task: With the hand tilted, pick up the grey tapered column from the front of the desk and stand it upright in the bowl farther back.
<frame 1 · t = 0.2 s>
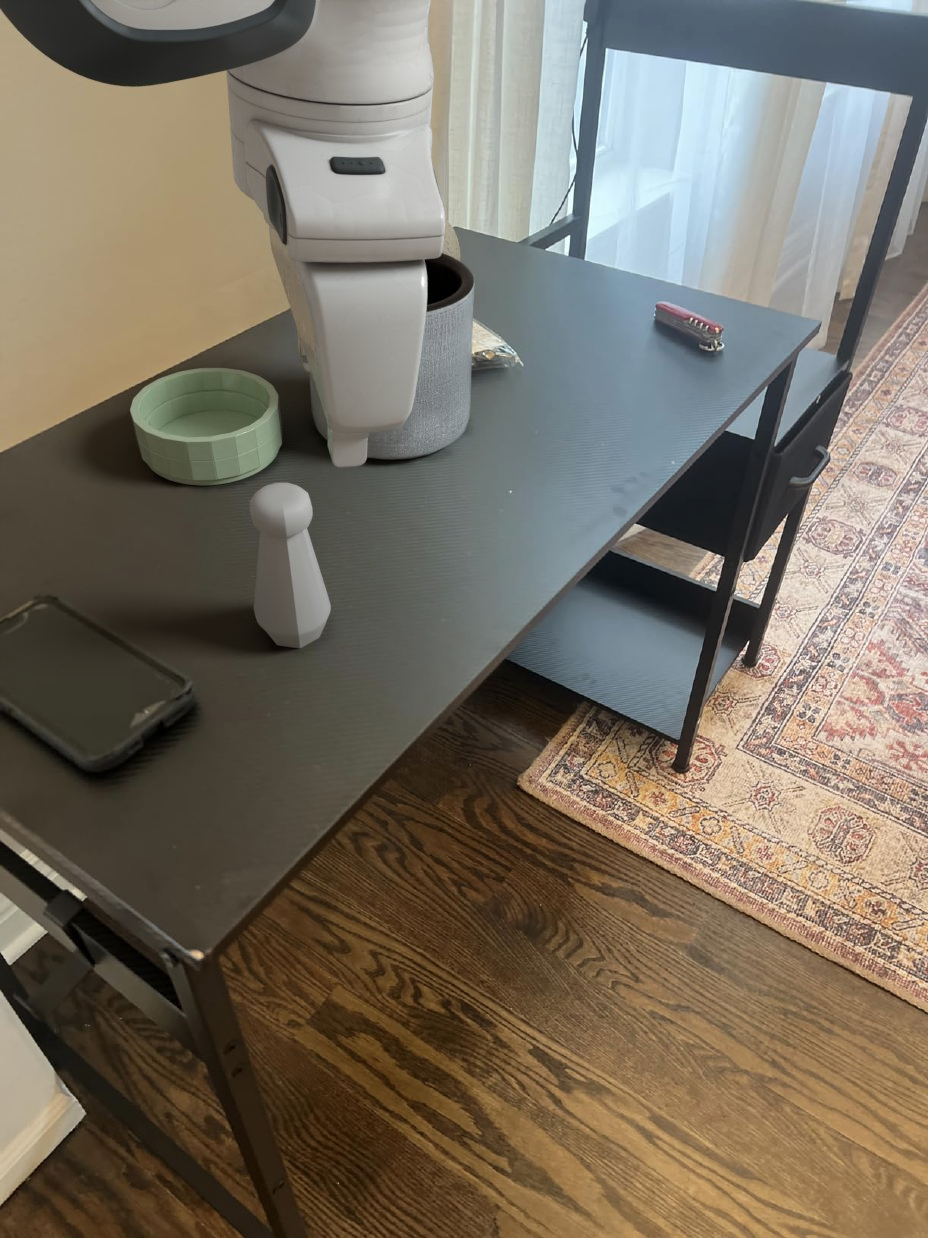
hand: (330, 409, 52), 24 cm above the table, tool pointing down, fingers open, 8 cm apart
grey tapered column: (295, 632, 73), on the table
planter: (391, 425, 96), on the table
bowl: (213, 447, 91), on the table
fruit: (414, 303, 117), on the table
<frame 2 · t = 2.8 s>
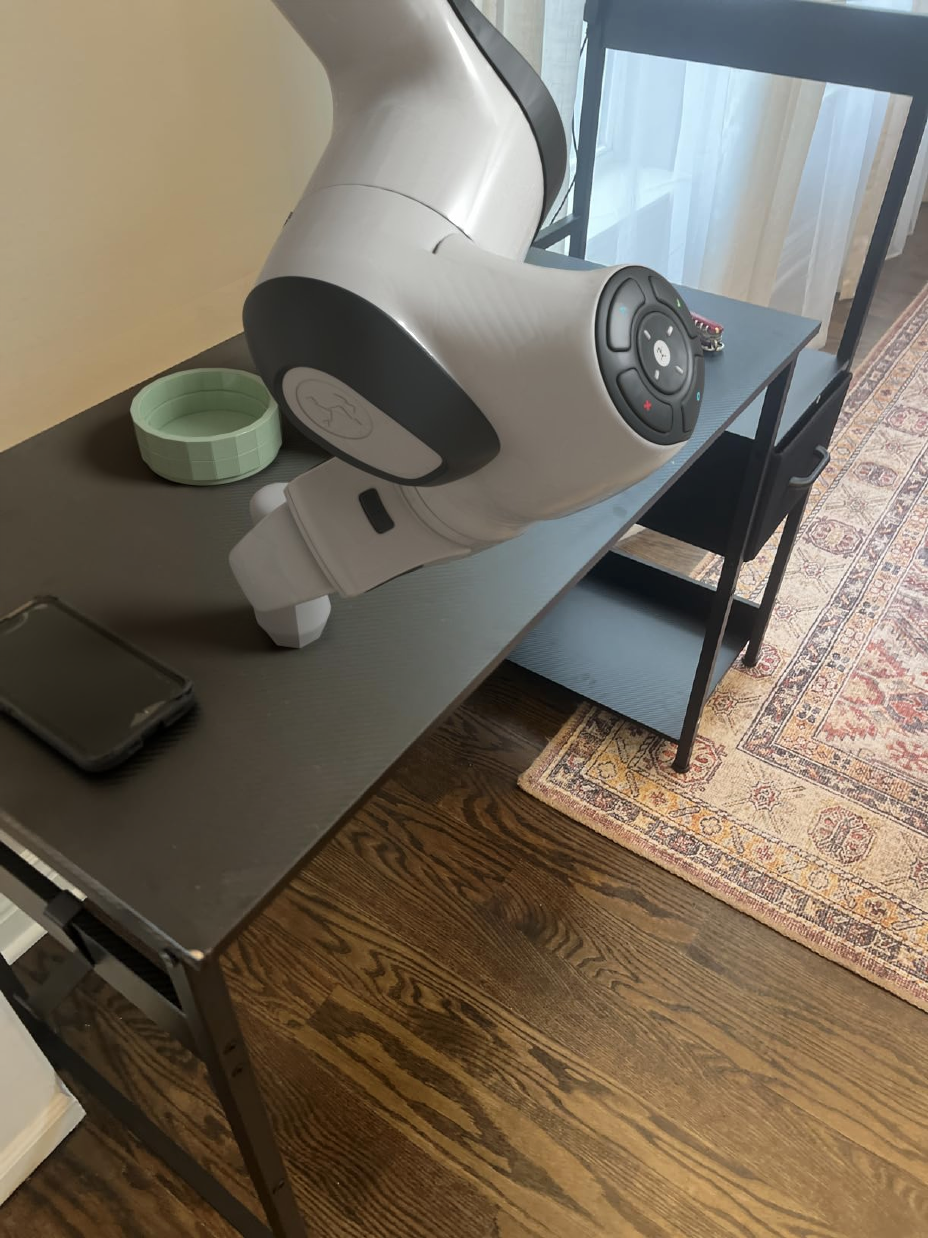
hand: (344, 534, 60), 13 cm above the table, tool tilted 45°, fingers open, 8 cm apart
nothing on the table moved.
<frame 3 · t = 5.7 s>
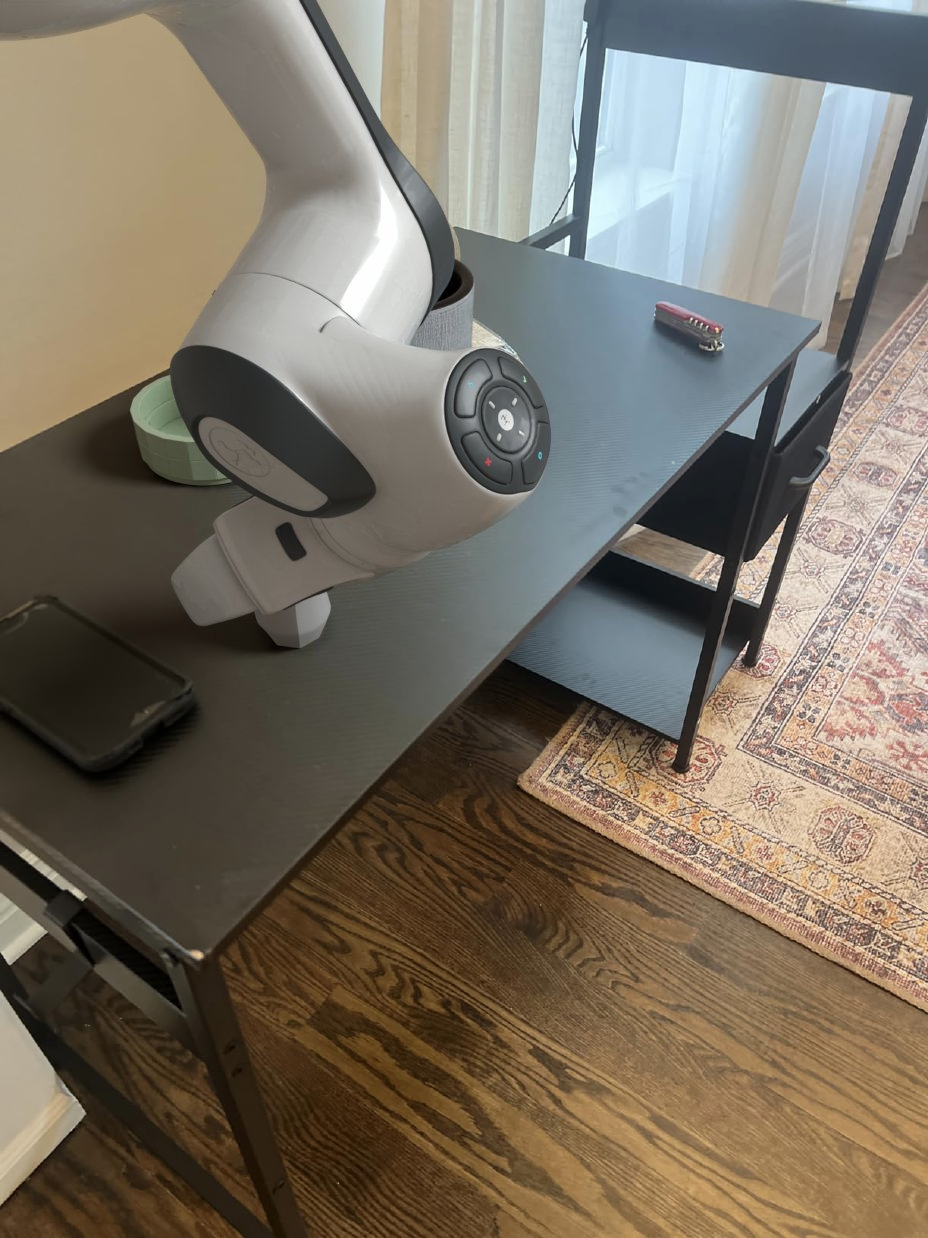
hand: (281, 555, 68), 7 cm above the table, tool tilted 45°, fingers closed on grey tapered column, 3 cm apart
grey tapered column: (295, 631, 73), on the table, touching gripper
everything else where it was.
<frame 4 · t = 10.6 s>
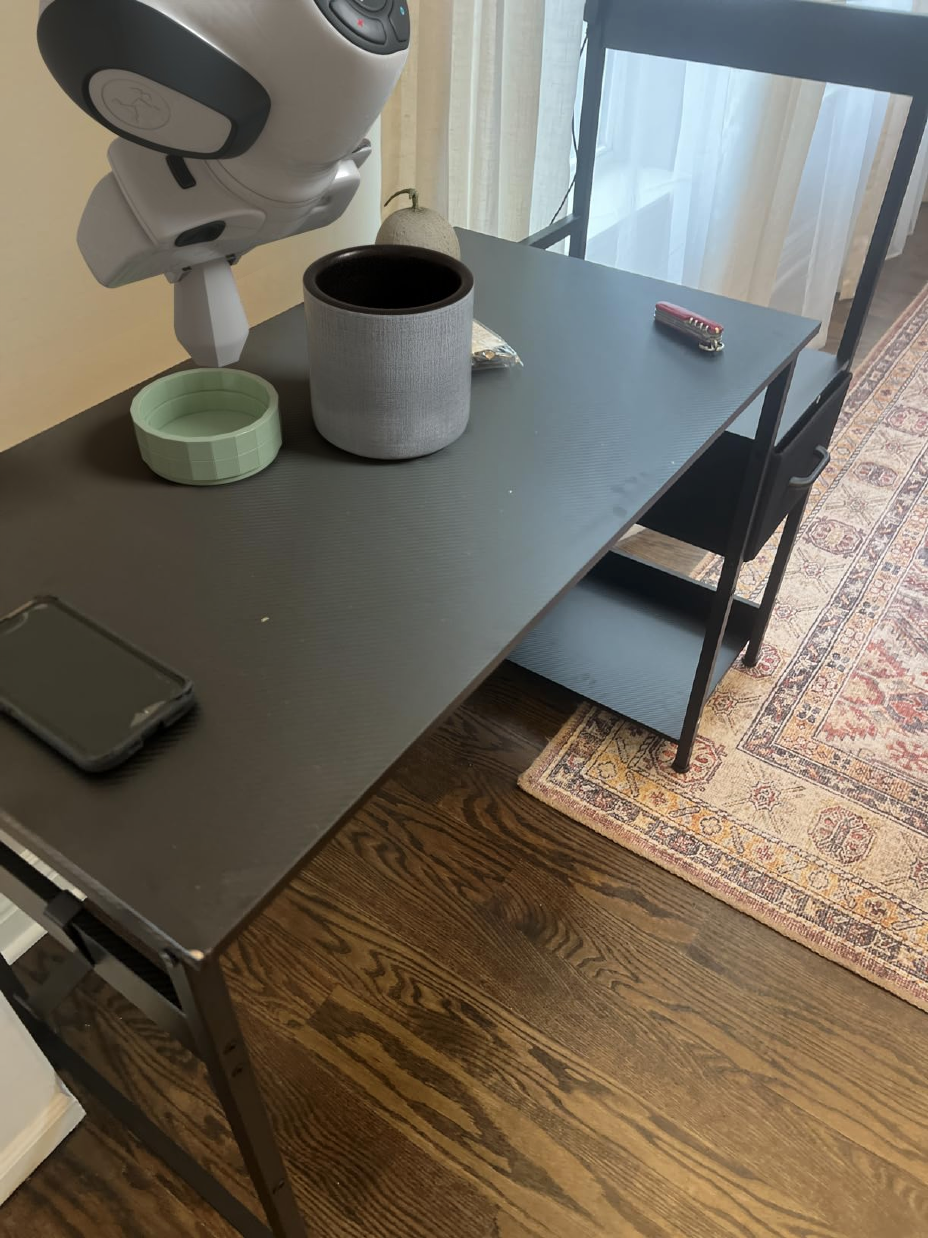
hand: (197, 265, 71), 21 cm above the table, tool tilted 45°, fingers closed on grey tapered column, 3 cm apart
grey tapered column: (216, 357, 76), point 14 cm above the table, touching gripper
everything else where it was.
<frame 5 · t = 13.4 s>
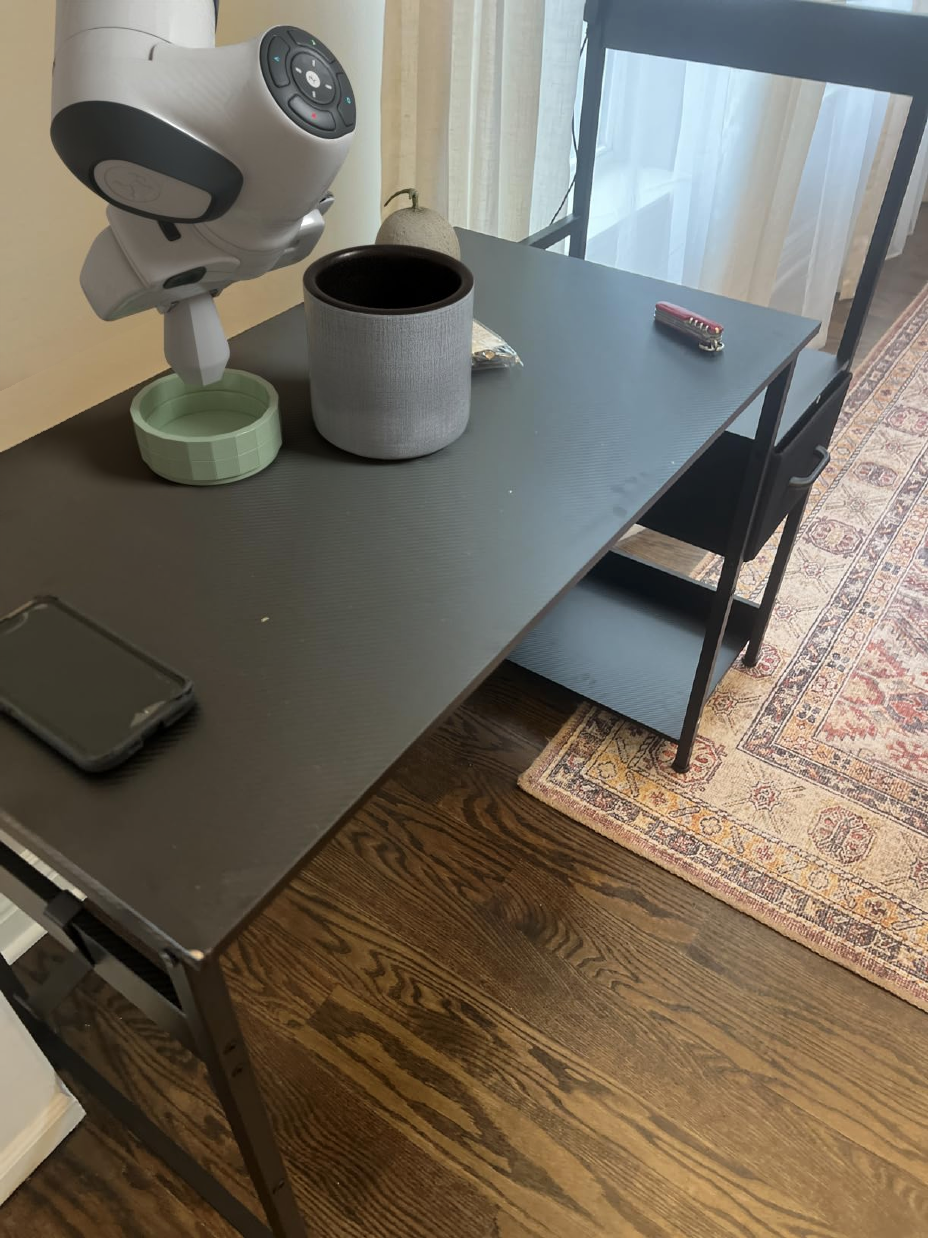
hand: (184, 297, 81), 15 cm above the table, tool tilted 45°, fingers closed on grey tapered column, 3 cm apart
grey tapered column: (201, 376, 86), point 8 cm above the table, touching gripper
everything else where it was.
when the fingers open (8 cm above the table, at t = 15.6 s): grey tapered column stays where it is, resting on bowl.
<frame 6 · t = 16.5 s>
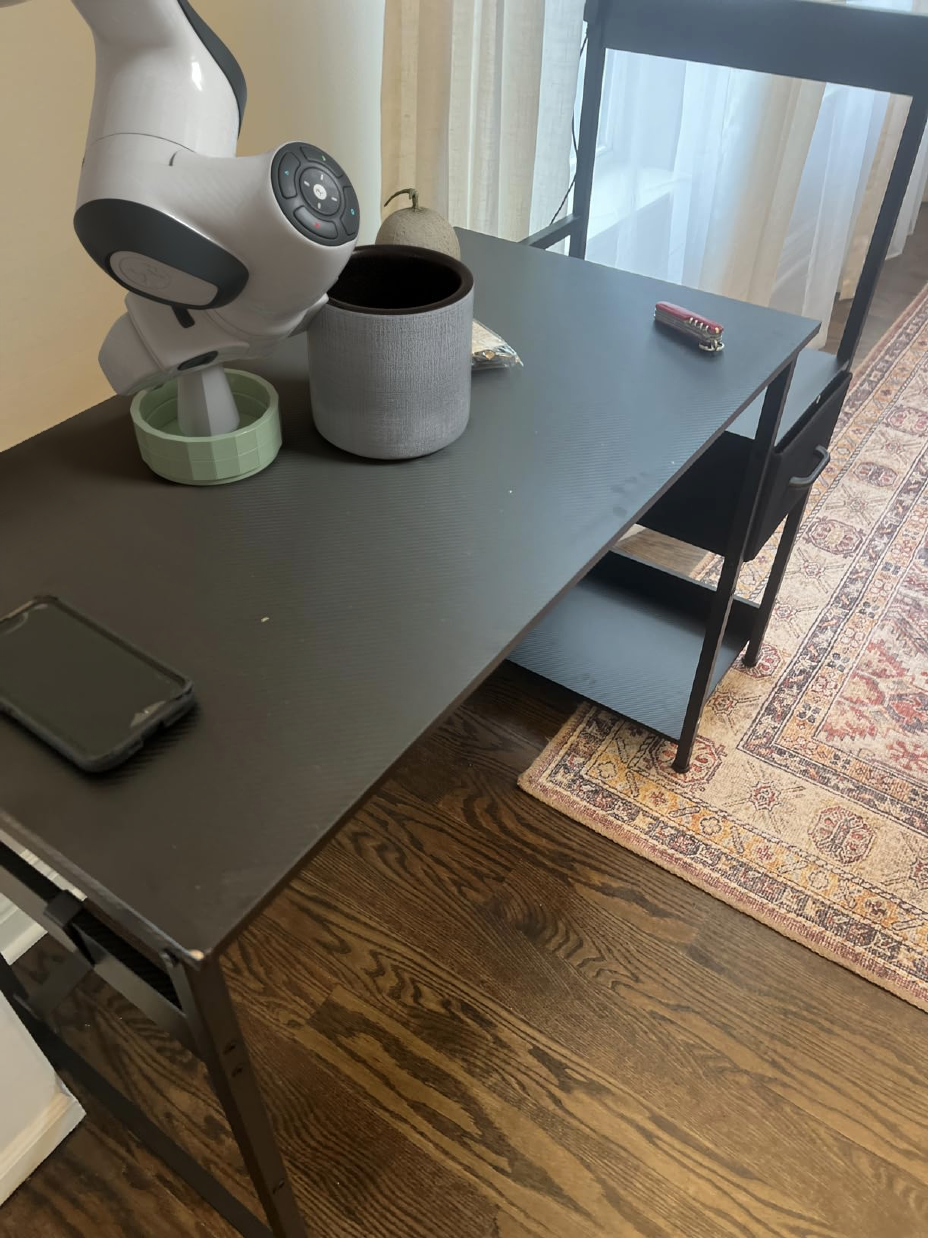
hand: (195, 365, 86), 9 cm above the table, tool tilted 45°, fingers open, 8 cm apart
grey tapered column: (212, 442, 91), point 1 cm above the table, touching bowl
everything else where it was.
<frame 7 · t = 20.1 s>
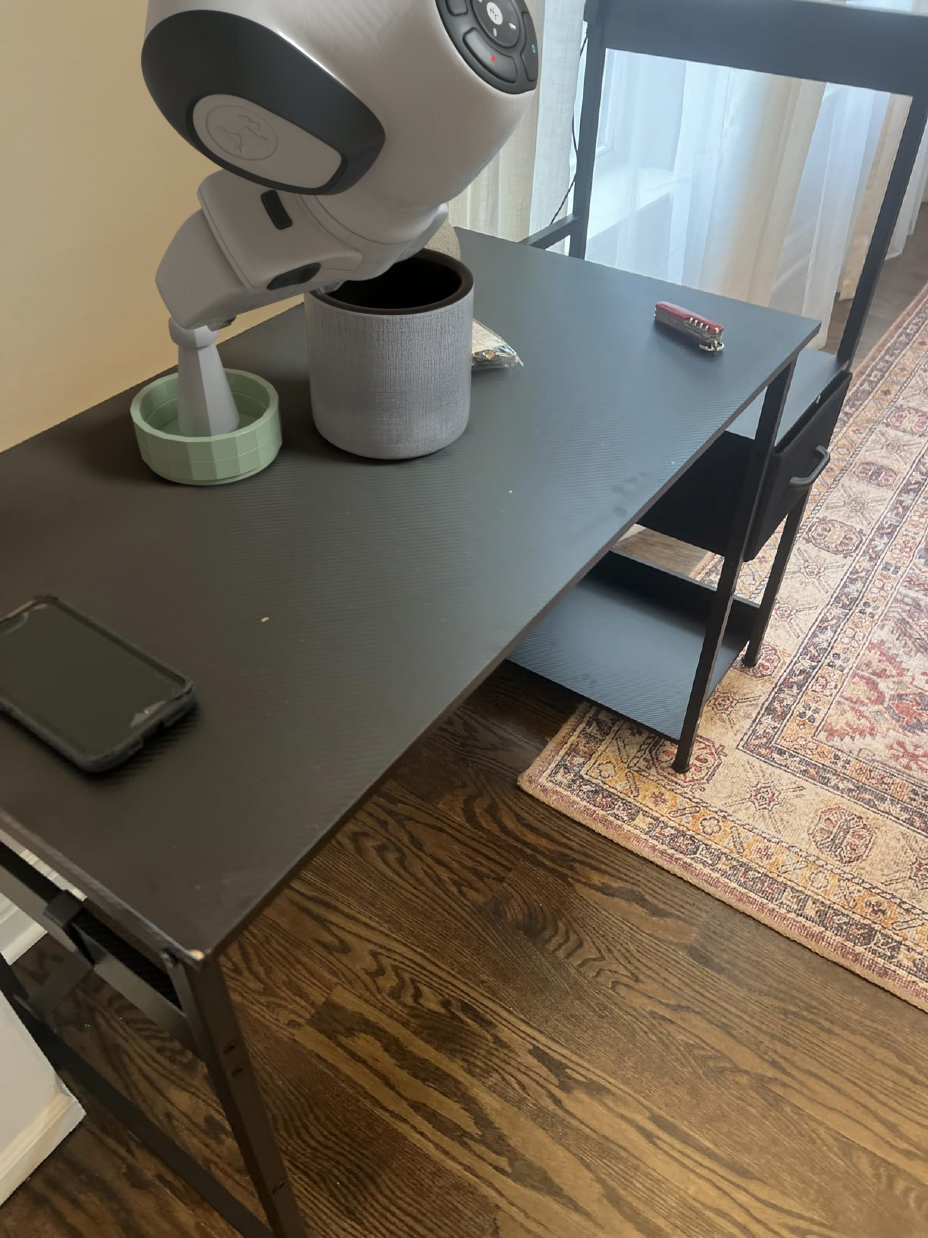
hand: (269, 300, 67), 21 cm above the table, tool tilted 45°, fingers open, 8 cm apart
nothing on the table moved.
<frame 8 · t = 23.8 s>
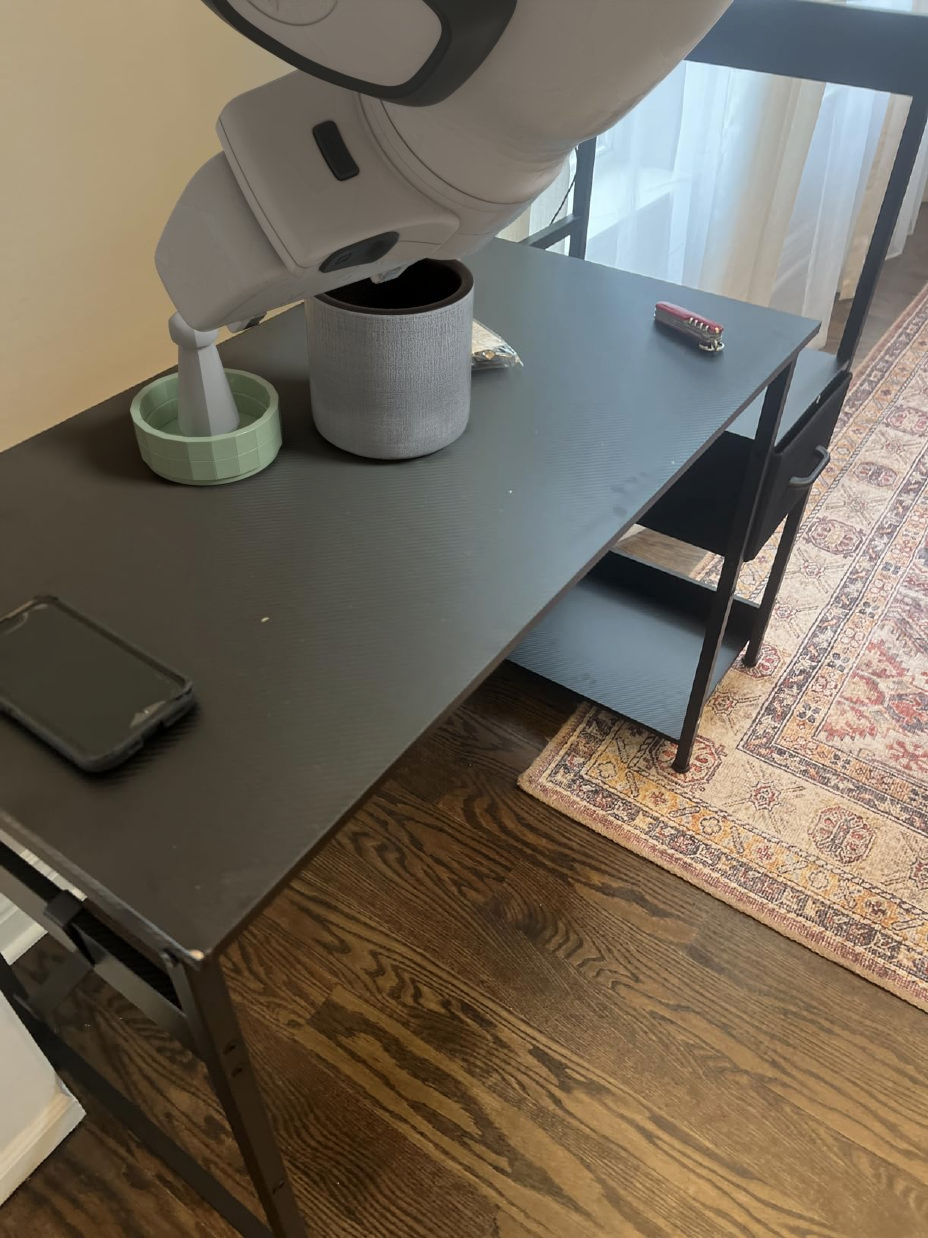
hand: (309, 291, 50), 29 cm above the table, tool tilted 45°, fingers open, 8 cm apart
nothing on the table moved.
at the end: grey tapered column inside the target area in the bowl (0.1 cm from its centre), point 0.6 cm above the bowl's base; grey tapered column tilted 0°; the gripper is holding nothing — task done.
